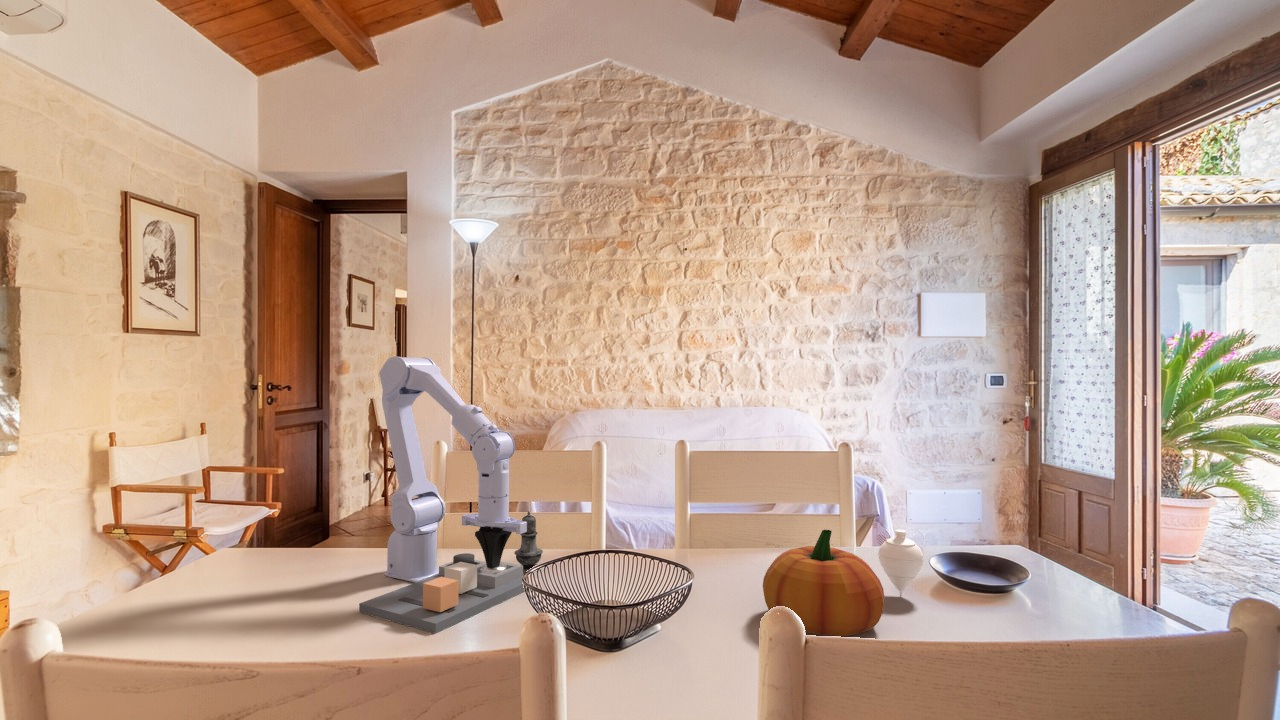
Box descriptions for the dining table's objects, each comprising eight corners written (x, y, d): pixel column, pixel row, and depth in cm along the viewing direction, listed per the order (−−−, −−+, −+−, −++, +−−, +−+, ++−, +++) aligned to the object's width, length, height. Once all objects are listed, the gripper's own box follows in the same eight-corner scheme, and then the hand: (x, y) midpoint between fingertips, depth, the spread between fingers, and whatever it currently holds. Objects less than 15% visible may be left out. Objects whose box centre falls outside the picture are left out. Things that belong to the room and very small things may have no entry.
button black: (448, 564, 123) (448, 557, 123) (463, 559, 127) (463, 552, 127) (464, 567, 121) (464, 560, 121) (478, 562, 125) (478, 555, 125)
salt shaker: (536, 574, 128) (537, 514, 128) (509, 572, 129) (510, 513, 130) (546, 565, 134) (547, 508, 134) (520, 563, 135) (521, 507, 135)
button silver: (473, 576, 120) (474, 568, 120) (492, 569, 124) (492, 561, 124) (494, 580, 117) (494, 572, 117) (511, 572, 122) (511, 565, 122)
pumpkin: (738, 613, 107) (738, 525, 108) (821, 594, 117) (820, 513, 117) (823, 658, 91) (823, 553, 91) (911, 631, 100) (910, 536, 100)
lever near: (422, 607, 104) (423, 583, 104) (441, 600, 108) (441, 576, 108) (440, 612, 102) (440, 587, 103) (458, 604, 106) (458, 580, 106)
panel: (359, 612, 107) (359, 591, 107) (468, 570, 130) (468, 553, 130) (435, 633, 99) (436, 610, 99) (538, 584, 122) (538, 566, 122)
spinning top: (924, 592, 118) (923, 528, 118) (923, 606, 111) (923, 537, 111) (880, 586, 121) (879, 523, 121) (877, 599, 114) (876, 532, 114)
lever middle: (444, 590, 113) (444, 567, 113) (460, 583, 116) (460, 561, 117) (460, 593, 111) (461, 570, 111) (476, 587, 115) (477, 564, 115)
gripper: (450, 495, 121) (449, 566, 121) (509, 502, 114) (509, 578, 114) (476, 489, 127) (475, 557, 127) (533, 496, 120) (533, 568, 120)
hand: (493, 566), depth 121 cm, fingers closed, pressing on button silver
